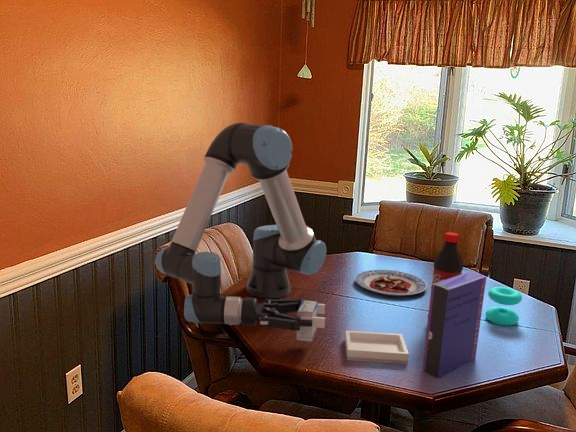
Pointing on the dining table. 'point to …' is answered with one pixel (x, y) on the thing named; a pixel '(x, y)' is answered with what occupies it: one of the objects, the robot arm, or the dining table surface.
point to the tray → (376, 347)
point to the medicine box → (311, 311)
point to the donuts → (502, 313)
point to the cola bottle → (448, 260)
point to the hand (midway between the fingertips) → (324, 315)
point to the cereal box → (453, 323)
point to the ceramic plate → (391, 282)
